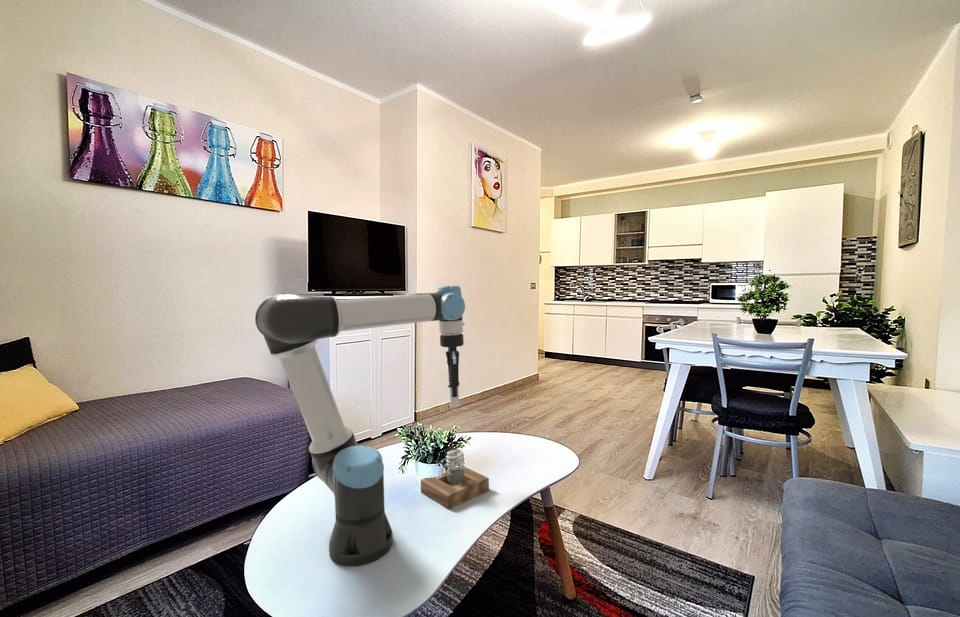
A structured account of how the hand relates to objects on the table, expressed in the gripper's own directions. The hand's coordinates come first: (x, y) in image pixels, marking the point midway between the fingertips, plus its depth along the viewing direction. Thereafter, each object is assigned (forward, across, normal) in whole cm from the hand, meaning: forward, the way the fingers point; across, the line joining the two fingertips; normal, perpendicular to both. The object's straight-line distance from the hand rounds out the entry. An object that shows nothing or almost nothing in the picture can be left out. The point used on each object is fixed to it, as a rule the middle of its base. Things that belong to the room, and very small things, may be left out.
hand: (454, 405), depth 135 cm
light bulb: (+24, -6, +1) cm, 25 cm away
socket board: (+25, -6, +2) cm, 26 cm away
